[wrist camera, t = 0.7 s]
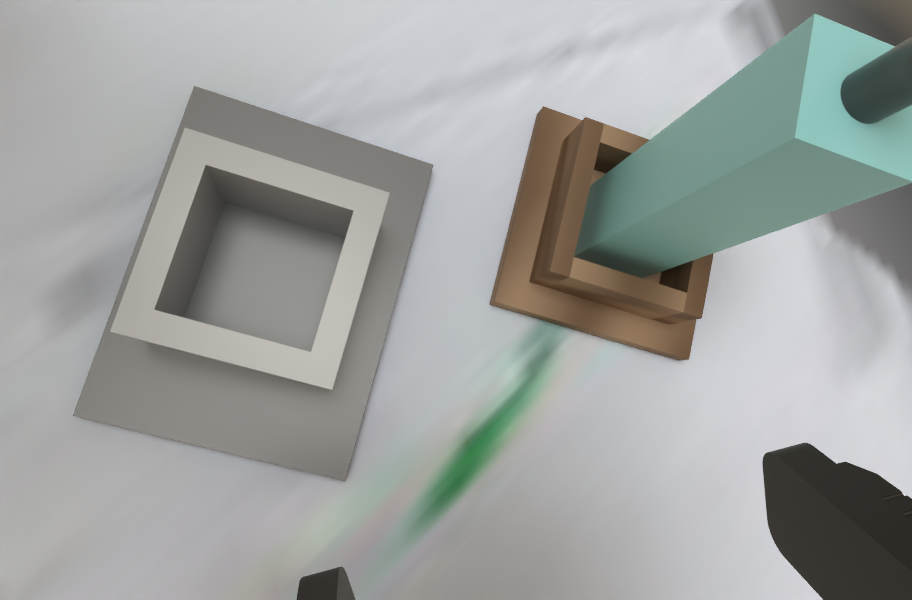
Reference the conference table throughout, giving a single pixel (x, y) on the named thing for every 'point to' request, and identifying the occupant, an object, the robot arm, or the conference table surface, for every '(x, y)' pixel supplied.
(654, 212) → the plug
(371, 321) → the box
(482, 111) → the conference table surface
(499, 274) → the brown open square box
